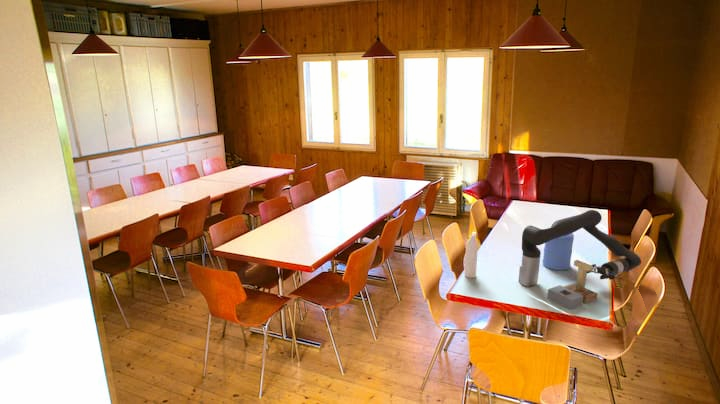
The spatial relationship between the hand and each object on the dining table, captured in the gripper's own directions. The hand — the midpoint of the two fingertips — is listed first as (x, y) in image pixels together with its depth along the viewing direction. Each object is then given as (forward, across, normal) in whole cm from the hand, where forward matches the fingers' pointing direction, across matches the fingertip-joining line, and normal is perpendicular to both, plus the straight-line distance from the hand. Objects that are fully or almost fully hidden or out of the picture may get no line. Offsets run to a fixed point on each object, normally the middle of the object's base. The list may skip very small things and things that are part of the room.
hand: (593, 274), depth 252 cm
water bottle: (+39, -50, +11) cm, 65 cm away
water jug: (-15, -34, +11) cm, 39 cm away
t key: (+10, 0, +10) cm, 14 cm away
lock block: (+10, 0, +11) cm, 15 cm away
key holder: (+21, 0, +11) cm, 24 cm away
